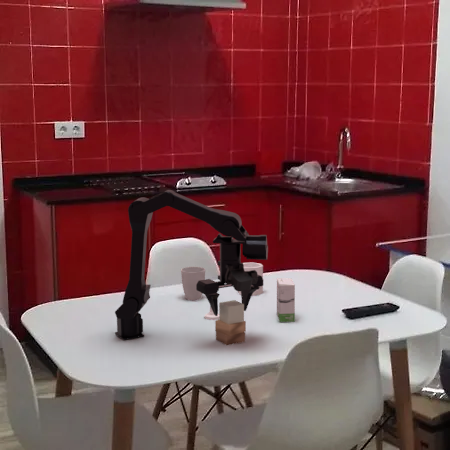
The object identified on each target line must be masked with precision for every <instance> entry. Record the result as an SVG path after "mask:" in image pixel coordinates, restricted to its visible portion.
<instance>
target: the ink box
mask: <svg viewBox="0 0 450 450" xmlns="http://www.w3.org/2000/svg"><path fill="white" fill-rule="evenodd" d="M295 286H296V284H295V282H294V280H293V279H292V278H287V277H286V278H284V277H281V278H280V277H277V278H276V316H277V319H278V322H279V323H295V321H296V317H295V316H296V313H295V312H296V311H295V310H296V308H295V307H296V306H295V305H296V304H295V303H296V302H295V297H296V296H295V295H296V294H295V293H296V288H295Z"/></svg>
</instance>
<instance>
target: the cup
mask: <svg viewBox="0 0 450 450" xmlns="http://www.w3.org/2000/svg"><path fill="white" fill-rule="evenodd" d="M180 272H181V284H182V289H183V294H184V296H185V299H186V300H187V301H199V300H201V299H202V296H203V295H204V294H203V293H201V292H199V291H197V290H196V284H197V283H198V281H199V280H206V268H205V267H201V266H187V267H186V266H185V267H183V268H182V267H181V269H180Z"/></svg>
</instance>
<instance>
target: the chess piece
mask: <svg viewBox="0 0 450 450" xmlns="http://www.w3.org/2000/svg"><path fill="white" fill-rule="evenodd" d="M204 319H205V320H209V321H210V320H212V321H216V320H219V313H218V316H215V315H214V313H213V310H212V308H211V306H210V308H209V312H207V313H205V314H204Z"/></svg>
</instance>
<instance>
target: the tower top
mask: <svg viewBox="0 0 450 450" xmlns="http://www.w3.org/2000/svg"><path fill="white" fill-rule="evenodd" d="M246 323H247V321H246V320H244V322H239V323H234V324H227V323H225V322H223V321H221V320H219V319H216V320H214V324H215V326H214V327H215V332H216V331H217V332H220V333H223V334H225V335H228V336H232V335H235V334H239V333H242V332H245V333H246V329H247V327H246V326H247V325H246Z"/></svg>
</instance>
